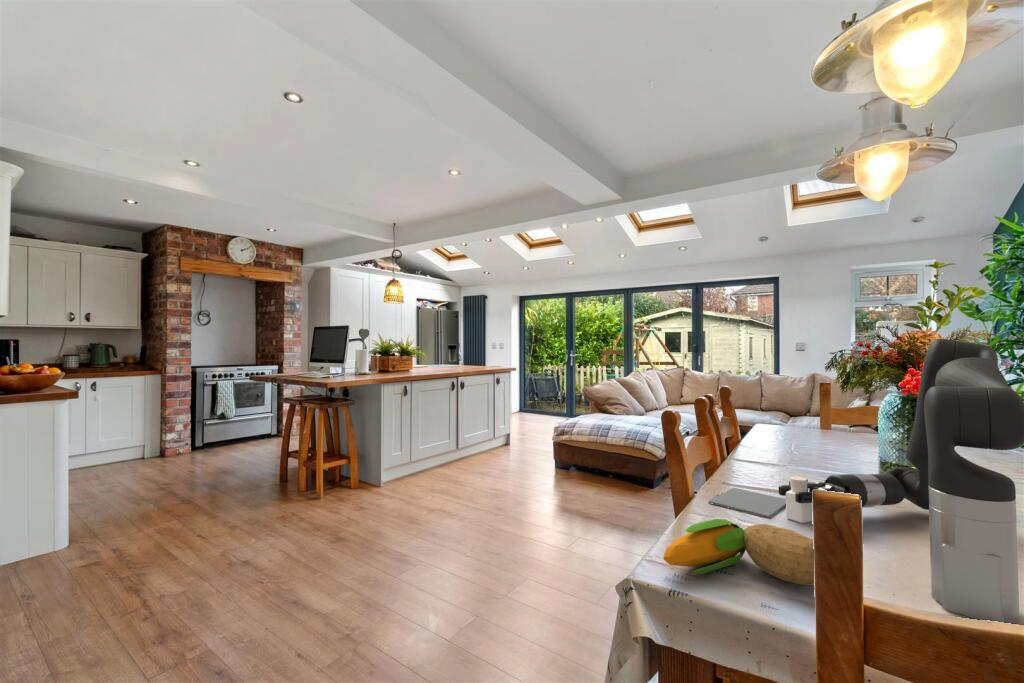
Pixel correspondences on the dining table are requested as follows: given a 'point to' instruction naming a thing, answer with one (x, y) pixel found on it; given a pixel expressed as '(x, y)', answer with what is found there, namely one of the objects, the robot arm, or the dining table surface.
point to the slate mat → (750, 502)
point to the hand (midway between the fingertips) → (788, 494)
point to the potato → (781, 553)
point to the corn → (707, 546)
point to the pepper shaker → (793, 508)
